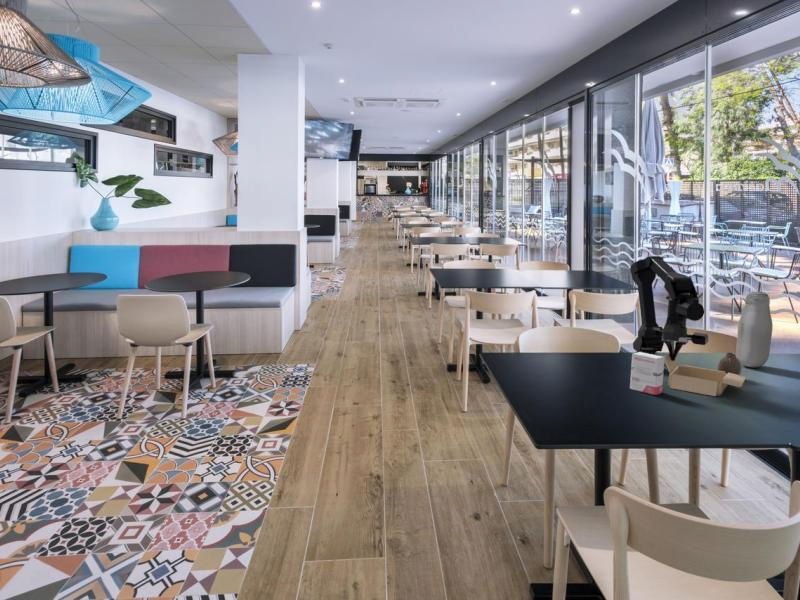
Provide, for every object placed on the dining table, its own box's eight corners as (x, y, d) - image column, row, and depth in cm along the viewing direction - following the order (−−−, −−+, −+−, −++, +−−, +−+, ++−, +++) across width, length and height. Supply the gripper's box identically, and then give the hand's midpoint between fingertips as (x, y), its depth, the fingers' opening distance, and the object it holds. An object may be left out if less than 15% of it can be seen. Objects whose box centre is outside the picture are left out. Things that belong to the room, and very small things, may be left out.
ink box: (663, 392, 173) (666, 356, 171) (655, 395, 170) (658, 358, 168) (636, 385, 180) (639, 350, 178) (629, 388, 177) (631, 353, 175)
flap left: (679, 364, 188) (673, 350, 188) (670, 372, 179) (664, 357, 179) (677, 364, 188) (671, 350, 189) (669, 372, 179) (662, 358, 180)
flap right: (722, 381, 170) (740, 385, 167) (728, 372, 179) (746, 376, 176) (722, 382, 170) (740, 387, 167) (728, 373, 179) (745, 378, 176)
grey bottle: (748, 362, 208) (755, 289, 204) (773, 369, 199) (782, 293, 194) (728, 364, 205) (735, 290, 201) (753, 371, 196) (761, 294, 191)
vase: (743, 381, 184) (746, 356, 183) (721, 380, 186) (723, 355, 184) (735, 375, 191) (737, 351, 189) (713, 374, 192) (716, 350, 191)
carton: (666, 387, 178) (667, 374, 177) (678, 375, 191) (679, 363, 190) (719, 397, 168) (720, 383, 168) (728, 384, 182) (729, 371, 181)
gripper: (640, 315, 180) (637, 361, 183) (704, 322, 169) (699, 371, 171) (649, 310, 189) (646, 354, 191) (710, 316, 177) (706, 363, 180)
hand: (673, 360), depth 183 cm, fingers closed
